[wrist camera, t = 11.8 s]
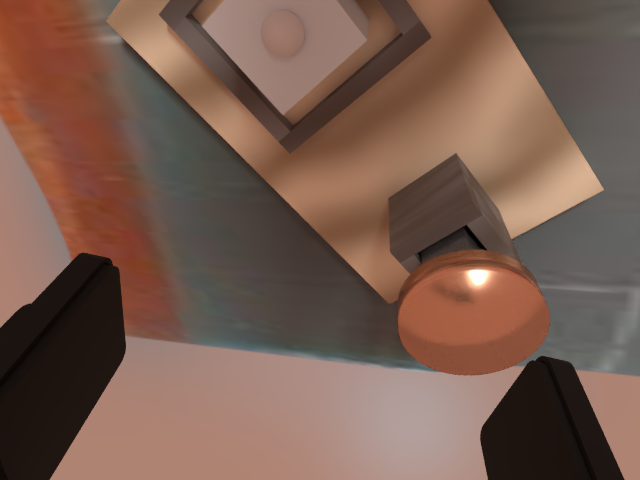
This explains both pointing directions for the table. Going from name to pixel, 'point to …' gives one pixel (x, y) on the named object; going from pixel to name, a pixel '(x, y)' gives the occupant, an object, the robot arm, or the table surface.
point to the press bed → (387, 129)
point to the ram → (470, 308)
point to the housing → (288, 42)
